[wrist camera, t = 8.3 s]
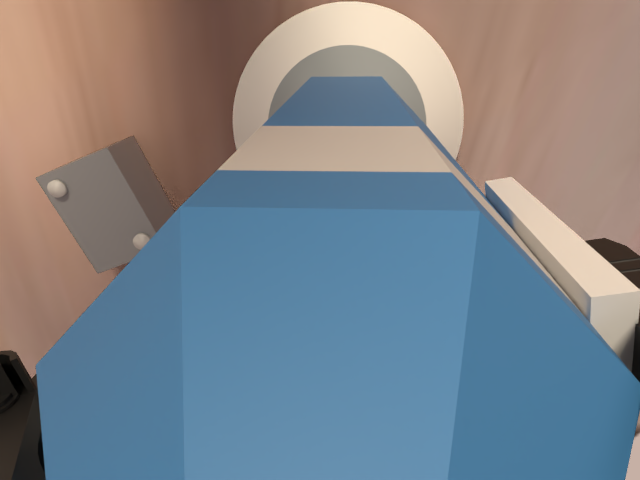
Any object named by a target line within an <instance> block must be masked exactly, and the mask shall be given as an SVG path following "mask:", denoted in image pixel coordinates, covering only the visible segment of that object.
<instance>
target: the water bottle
mask: <svg viewBox="0 0 640 480" xmlns="http://www.w3.org/2000/svg"><path fill="white" fill-rule="evenodd" d="M36 374H37V385H38V397H39V408H40V419H41V431H42V442H43V453H44V465H45V476H46V480H625V477H626V472H627V468H628V463H629V458H630V454H631V449H632V444H633V439H634V435H635V430H636V425H637V421H638V416H639V411H640V382H639V381H638V380H637V379H636V377H635V376H634V375H633V374H632V373H631V371H630V370H629V369H628V368H627V367H626V365H625V364H624V363H623V362H622V361H621V359H620V358H619V357H618V356H617V355H616V353H615V352H614V351H613V350H612V349H611V347H610V346H609V345H608V344H607V343H606V341H605V340H604V339H603V338H602V336H601V335H600V334H599V333H598V332H597V330H596V329H595V328H594V327H593V326H592V324H591V323H590V322H589V321H588V320H587V319H586V317H585V316H584V315H583V314H582V312H581V311H580V310H579V309H578V308H577V306H576V305H575V304H574V303H573V302H572V300H571V299H570V298H569V297H568V296H567V294H566V293H565V292H564V291H563V290H562V288H561V287H560V286H559V285H558V284H557V282H556V281H555V280H554V279H553V278H552V276H551V275H550V274H549V273H548V272H547V270H546V269H545V268H544V267H543V265H542V264H541V263H540V262H539V261H538V259H537V258H536V257H535V256H534V255H533V253H532V252H531V251H530V250H529V249H528V247H527V246H526V245H525V244H524V243H523V241H522V240H521V239H520V238H519V237H518V235H517V234H516V233H515V232H514V231H513V229H512V228H511V227H510V226H509V224H508V223H507V222H506V221H505V220H504V218H503V217H502V216H501V215H500V214H499V212H498V211H497V210H496V209H495V208H494V206H493V205H492V204H491V203H490V202H489V200H488V199H487V198H486V197H485V196H484V194H483V193H482V192H481V191H480V189H479V188H478V187H477V186H476V185H475V183H474V182H473V181H472V180H471V179H470V177H469V176H468V175H467V174H466V173H465V171H464V170H463V169H462V168H461V167H460V165H459V164H458V163H457V162H456V161H455V159H454V158H453V157H452V156H451V155H450V153H449V152H448V151H447V150H446V149H445V147H444V146H443V145H442V144H441V142H440V141H439V140H438V139H437V138H436V136H435V135H434V134H433V133H432V132H431V130H430V129H429V128H428V127H427V126H426V125H425V124H424V122H423V121H422V120H421V119H420V118H419V117H418V116H417V115H416V114H415V113H414V111H413V110H412V109H411V108H410V107H409V106H408V105H407V104H406V103H405V102H404V100H403V99H402V98H401V97H400V96H399V95H398V94H397V93H396V92H395V91H394V89H393V88H392V87H391V86H390V85H389V84H388V83H387V82H386V81H385V80H384V78H383V77H382V76H362V77H311V78H310V79H309V80H308V81H306V82H305V83H304V84H303V85H302V86H301V87H300V88H299V89H298V90H297V91H296V92H295V93H294V94H293V95H292V96H291V97H290V98H289V99H288V100H287V101H286V102H285V103H284V104H283V105H282V106H281V107H280V108H279V109H278V110H277V111H276V112H275V113H274V114H273V115H272V116H271V117H270V118H269V119H268V120H267V121H266V122H265V123H264V124H263V125H262V126H261V127H260V128H259V129H258V130H257V131H256V132H255V133H254V134H253V135H252V136H251V137H250V138H249V139H248V140H247V141H246V142H245V143H244V144H243V145H242V146H241V147H240V148H239V149H238V150H237V151H236V152H235V153H234V154H233V155H232V156H231V157H230V158H229V159H228V160H227V161H226V162H225V163H224V164H223V165H222V166H221V167H220V168H219V169H218V170H217V171H216V172H215V173H214V174H213V175H212V176H211V177H210V178H209V179H208V180H207V181H206V182H204V183H203V184H202V185H201V186H200V187H199V188H198V189H197V190H196V191H195V192H194V193H193V194H192V195H191V196H190V197H189V198H188V199H187V200H186V201H185V202H184V203H183V204H182V205H181V206H180V207H179V208H178V210H177V211H176V212H175V213H174V214H173V215H172V216H171V217H170V218H169V219H168V221H167V222H166V223H165V224H164V225H163V226H162V227H161V228H160V229H159V230H158V232H157V233H156V234H155V235H154V236H153V237H152V238H151V239H150V240H149V241H148V243H147V244H146V245H145V246H144V247H143V248H142V249H141V250H140V251H139V252H138V254H137V255H136V256H135V257H134V258H133V259H132V260H131V261H130V262H129V263H128V265H127V266H126V267H125V268H124V269H123V270H122V271H121V272H120V273H119V274H118V276H117V277H116V278H115V279H114V280H113V281H112V282H111V283H110V284H109V285H108V287H107V288H106V289H105V290H104V291H103V292H102V293H101V294H100V295H99V296H98V298H97V299H96V300H95V301H94V302H93V303H92V304H91V305H90V306H89V307H88V309H87V310H86V311H85V312H84V313H83V314H82V315H81V316H80V317H79V318H78V320H77V321H76V322H75V323H74V324H73V325H72V326H71V327H70V328H69V329H68V331H67V332H66V333H65V334H64V335H63V336H62V337H61V338H60V339H59V340H58V342H57V343H56V344H55V345H54V346H53V347H52V348H51V349H50V350H49V351H48V352H47V354H46V355H45V356H44V357H43V358H42V359H41V360H40V361H39V362H38V363H37V365H36Z"/></svg>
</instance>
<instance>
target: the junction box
mask: <svg viewBox="0 0 640 480" xmlns="http://www.w3.org/2000/svg"><path fill="white" fill-rule="evenodd" d="M36 180H37V181H38V183H39V184H40V186H41V188H42V189H43V191H44V192H45V194H46V195H47V197H48V198H49V200H50V201H51V203H52V204H53V206H54V207H55V209H56V210H57V212H58V214H59V215H60V217H61V218H62V220H63V221H64V223H65V224H66V226H67V227H68V229H69V230H70V232H71V233H72V235H73V236H74V238H75V239H76V241H77V243H78V244H79V246H80V247H81V249H82V250H83V252H84V253H85V255H86V256H87V258H88V259H89V261H90V262H91V264H92V265H93V267H94V269H95V270H96V272H97V273H101V272H104V271H106V270H109V269H112V268H115V267H117V266H120V265H123V264H126V263H129V262H130V261H131V260H132V259H133V258H134V257H135V256H136V255H137V254H138V252H139V251H140V250H141V249H142V248H143V247H144V246H145V245H146V244H147V243H148V241H149V240H150V239H151V238H152V237H153V236H154V235H155V234H156V233H157V232H158V230H159V229H160V228H161V227H162V226H163V225H164V224H165V223H166V222H167V221H168V219H169V218H170V217H171V216H172V215H173V214H174V213H175V211H174V209H173V207H172V205H171V203H170V202H169V200H168V198H167V196H166V194H165V193H164V191H163V189H162V187H161V185H160V183H159V182H158V180H157V178H156V176H155V174H154V172H153V171H152V169H151V167H150V165H149V163H148V162H147V160H146V158H145V156H144V154H143V152H142V151H141V149H140V147H139V145H138V143H137V141H136V140H135V138H134V136H131V137H128V138H126V139H124V140H121V141H119V142H117V143H114V144H112V145H110V146H107V147H105V148H103V149H100V150H98V151H96V152H93V153H91V154H89V155H86V156H84V157H82V158H79V159H77V160H75V161H72V162H70V163H68V164H65V165H63V166H61V167H59V168H56V169H54V170H52V171H50V172H47V173H45V174H43V175H41V176H39V177H36Z"/></svg>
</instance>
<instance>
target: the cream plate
mask: <svg viewBox="0 0 640 480" xmlns="http://www.w3.org/2000/svg"><path fill="white" fill-rule="evenodd" d="M362 76H382V77H383V78H384V80H385V81H386V82H387V83H388V84H389V85H390V86H391V87H392V88H393V89H394V91H395V92H396V93H397V94H398V95H399V96H400V97H401V98H402V99H403V100H404V102H405V103H406V104H407V105H408V106H409V107H410V108H411V109H412V110H413V111H414V113H415V114H416V115H417V116H418V117H419V118H420V119H421V120H422V121H423V122H424V124H425V125H426V126H427V127H428V128H429V129H430V130H431V132H432V133H433V134H434V135H435V136H436V138H437V139H438V140H439V141H440V142H441V144H442V145H443V146H444V147H445V149H446V150H447V151H448V152H449V153H450V155H451V156H452V157H453V158H454V159H455V160H456V158H457V155H458V152H459V148H460V144H461V140H462V133H463V125H464V112H463V101H462V95H461V90H460V86H459V83H458V79H457V76H456V74H455V72H454V70H453V67H452V65H451V63H450V61H449V59H448V58H447V56H446V55H445V53H444V51H443V50H442V48H441V47H440V46H439V45H438V43H437V42H436V41H435V40H434V39H433V37H432V36H431V35H430V34H429V33H427V32H426V31H425V30H424V29H423V28H422V27H421V26H420V25H418V24H417V23H415V22H414V21H412V20H411V19H409V18H408V17H406V16H405V15H402V14H400V13H398V12H396V11H394V10H392V9H389V8H386V7H383V6H379V5H376V4H371V3H364V2H335V3H329V4H323V5H320V6H317V7H313V8H310V9H307V10H305V11H303V12H301V13H299V14H297V15H295V16H293V17H291V18H290V19H288V20H287V21H285V22H284V23H282V24H281V25H279V26H278V27H277V28H276V29H275V30H273V31H272V32H271V33H270V34H269V35H268V36H267V37H266V38H265V39H264V40H263V41H262V43H261V44H260V45H259V46H258V47H257V48H256V50H255V51H254V53H253V54H252V56H251V58H250V59H249V61H248V62H247V64H246V66H245V69H244V71H243V73H242V75H241V77H240V80H239V84H238V87H237V90H236V94H235V100H234V106H233V134H234V141H235V146H236V150H238V149H239V148H240V147H241V146H242V145H243V144H244V143H245V142H246V141H247V140H248V139H249V138H250V137H251V136H252V135H253V134H254V133H255V132H256V131H257V130H258V129H259V128H260V127H261V126H262V125H263V124H264V123H265V122H266V121H267V120H268V119H269V118H270V117H271V116H272V115H273V114H274V113H275V112H276V111H277V110H278V109H279V108H280V107H281V106H282V105H283V104H284V103H285V102H286V101H287V100H288V99H289V98H290V97H291V96H292V95H293V94H294V93H295V92H296V91H297V90H298V89H299V88H300V87H301V86H302V85H303V84H304V83H305V82H306V81H308V80H309V79H310V78H311V77H362Z"/></svg>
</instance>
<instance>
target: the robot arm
mask: <svg viewBox="0 0 640 480" xmlns="http://www.w3.org/2000/svg"><path fill="white" fill-rule="evenodd" d="M485 191H486V198H487V199H488V200H489V202H490V203H491V204H492V205H493V206H494V208H495V209H496V210H497V211H498V212H499V214H500V215H501V216H502V217H503V218H504V220H505V221H506V222H507V223H508V224H509V226H510V227H511V228H512V229H513V231H514V232H515V233H516V234H517V235H518V237H519V238H520V239H521V240H522V241H523V243H524V244H525V245H526V246H527V247H528V249H529V250H530V251H531V252H532V253H533V255H534V256H535V257H536V258H537V259H538V261H539V262H540V263H541V264H542V265H543V267H544V268H545V269H546V270H547V272H548V273H549V274H550V275H551V276H552V278H553V279H554V280H555V281H556V282H557V284H558V285H559V286H560V287H561V288H562V290H563V291H564V292H565V293H566V294H567V296H568V297H569V298H570V299H571V300H572V302H573V303H574V304H575V305H576V306H577V308H578V309H579V310H580V311H581V312H582V314H583V315H584V316H585V317H586V319H587V320H588V321H589V322H590V323H591V324H592V326H593V327H594V328H595V329H596V330H597V332H598V333H599V334H600V335H601V336H602V338H603V339H604V340H605V341H606V343H607V344H608V345H609V346H610V347H611V349H612V350H613V351H614V352H615V353H616V355H617V356H618V357H619V358H620V359H621V361H622V362H623V363H624V364H625V365H626V367H627V368H628V369H629V370H630V371H631V373H632V374H633V375H634V376H635V377H636V379H637V380H638V381H639V382H640V256H639V255H637V254H636V253H635V252H634V251H632V250H631V249H630V248H628V247H627V246H625V245H622V244H619V243H617V242H614V241H611V240H608V239H606V238H602V239H595V240H588V241H584V240H583V239H582V238H580V237H579V236H578V235H577V234H576V233H575V232H574V231H573V230H571V229H570V228H569V227H568V226H567V225H566V224H565V223H563V222H562V221H561V220H560V219H559V218H558V217H557V216H555V215H554V214H553V213H552V212H551V211H550V210H549V209H547V208H546V207H545V206H544V205H543V204H542V203H541V202H540V201H538V200H537V199H536V198H535V197H534V196H533V195H532V194H530V193H529V192H528V191H527V190H526V189H525V188H524V187H522V186H521V185H520V184H519V183H518V182H517V181H516V180H514V179H513V178H512V177H508V178H502V179H496V180H490V181H485ZM0 480H46V476H45V465H44V453H43V442H42V431H41V419H40V408H39V397H38V385H37V374H36V375H35V376H34V377H33V378H32V379H31V377H30V376H29V374H28V372H27V370H26V369H25V367H24V365H23V363H22V362H21V360H20V358H19V356H18V355H17V353H16V352H13V351H11V350H10V351H0Z"/></svg>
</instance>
